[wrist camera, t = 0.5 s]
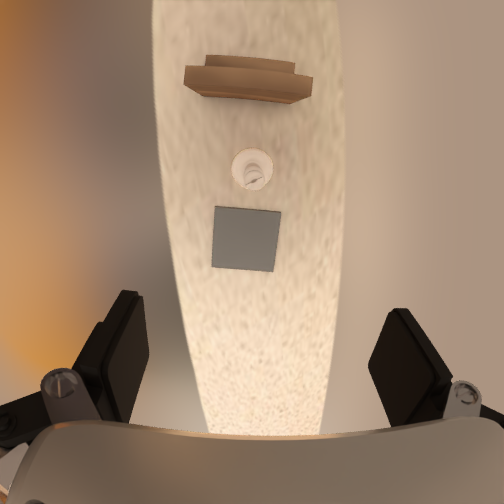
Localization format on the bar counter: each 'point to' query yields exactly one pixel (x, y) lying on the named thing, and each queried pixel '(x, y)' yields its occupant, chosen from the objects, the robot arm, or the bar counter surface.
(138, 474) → the robot arm
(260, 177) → the chess piece
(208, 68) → the brown piece
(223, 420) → the bar counter surface
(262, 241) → the pad
